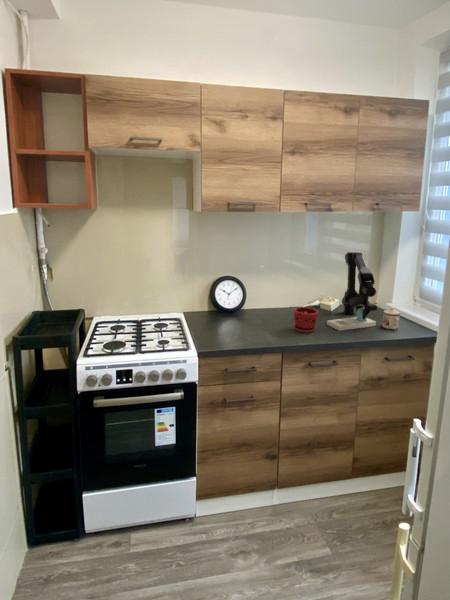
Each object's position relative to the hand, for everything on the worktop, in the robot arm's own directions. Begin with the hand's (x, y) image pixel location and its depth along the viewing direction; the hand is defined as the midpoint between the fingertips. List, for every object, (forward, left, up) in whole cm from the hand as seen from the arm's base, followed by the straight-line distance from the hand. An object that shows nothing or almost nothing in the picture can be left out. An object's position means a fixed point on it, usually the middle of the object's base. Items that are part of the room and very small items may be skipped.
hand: (361, 318), depth 249 cm
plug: (0, 0, -4) cm, 4 cm away
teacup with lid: (+12, +12, -4) cm, 17 cm away
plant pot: (-1, -38, -4) cm, 38 cm away
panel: (0, -7, -4) cm, 8 cm away
